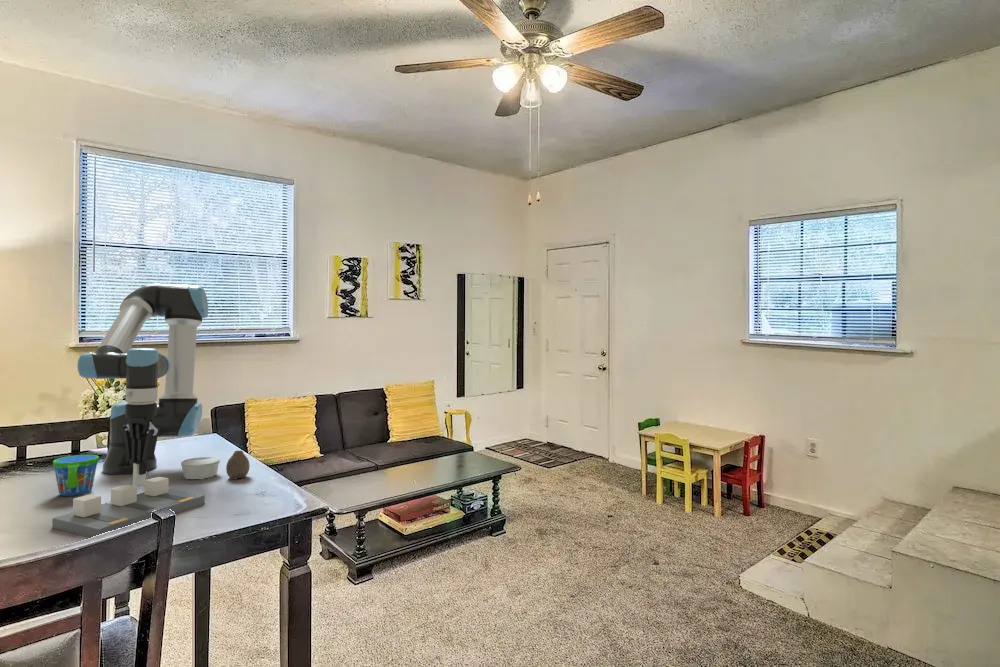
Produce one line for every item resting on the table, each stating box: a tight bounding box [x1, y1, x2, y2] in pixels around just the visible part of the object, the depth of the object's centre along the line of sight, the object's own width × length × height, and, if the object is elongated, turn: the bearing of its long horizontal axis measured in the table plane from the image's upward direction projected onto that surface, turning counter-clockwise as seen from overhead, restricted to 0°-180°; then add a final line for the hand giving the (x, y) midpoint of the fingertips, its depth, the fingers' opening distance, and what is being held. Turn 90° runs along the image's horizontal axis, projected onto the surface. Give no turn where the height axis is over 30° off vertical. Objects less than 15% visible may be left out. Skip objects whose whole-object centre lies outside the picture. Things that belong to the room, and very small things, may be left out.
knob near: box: [72, 493, 102, 517], centre depth 132 cm, size 4×4×4 cm
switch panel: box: [51, 487, 206, 538], centre depth 139 cm, size 17×28×3 cm, turn 159°
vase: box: [225, 450, 251, 479], centre depth 175 cm, size 7×7×9 cm
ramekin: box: [180, 456, 221, 480], centre depth 175 cm, size 11×11×5 cm
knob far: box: [144, 476, 169, 496], centre depth 149 cm, size 4×4×4 cm
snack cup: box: [52, 454, 100, 497], centre depth 155 cm, size 16×10×10 cm
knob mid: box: [110, 484, 138, 506], centre depth 140 cm, size 4×4×4 cm
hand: (139, 485), depth 151 cm, fingers closed
